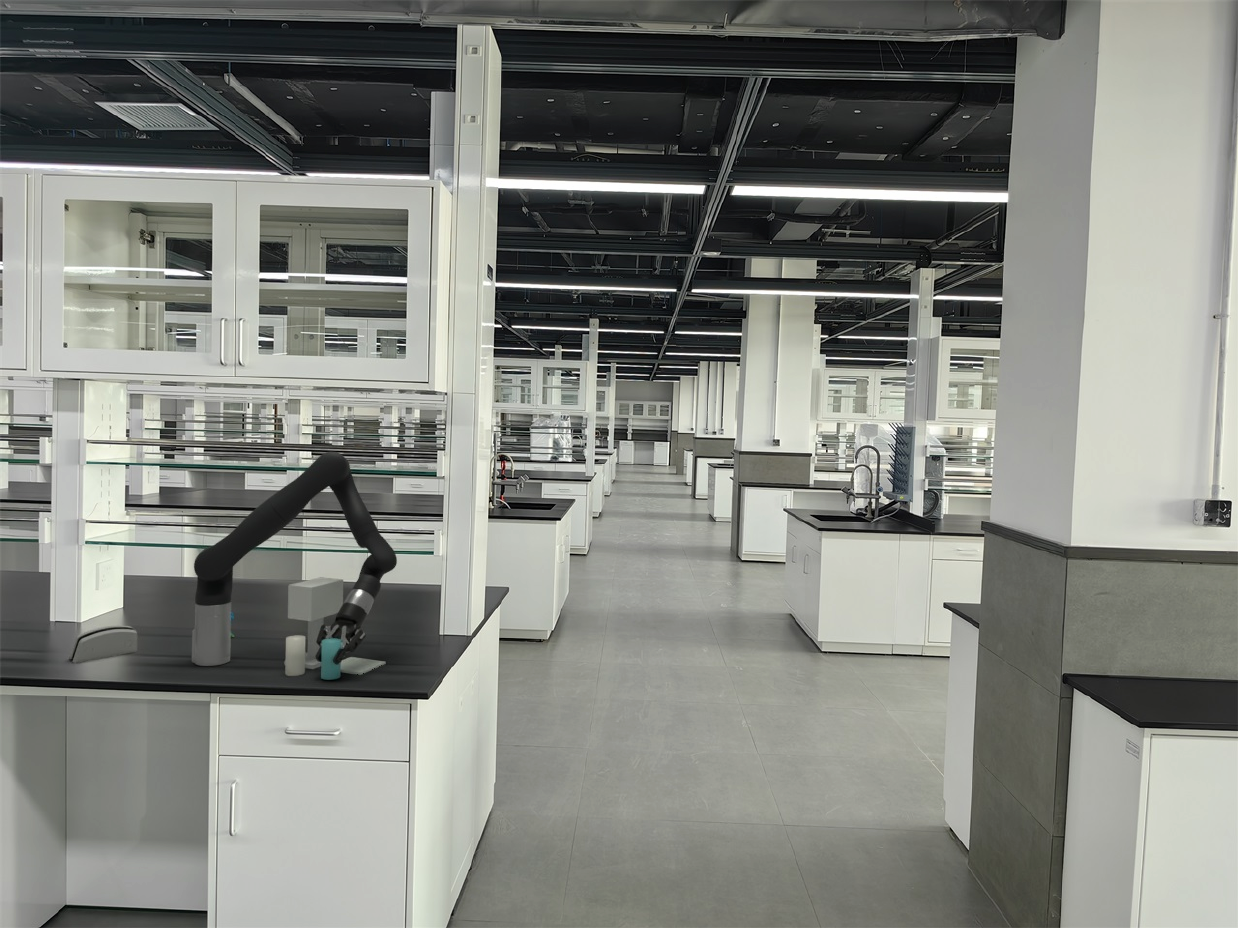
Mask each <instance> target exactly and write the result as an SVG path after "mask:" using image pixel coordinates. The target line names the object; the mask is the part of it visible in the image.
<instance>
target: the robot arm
mask: <svg viewBox="0 0 1238 928" xmlns="http://www.w3.org/2000/svg"><path fill="white" fill-rule="evenodd" d="M328 487H329V488H330V490H331V491H332V492H333V494H334V495H335V497H336V499H337V501H338V503H339V504H340V507H341V509H342V512H343V516H344V518H345V520H346V524H347V525H348V527H349V530H350V532H351V534H352V535H353V538H354V540H355V542H356V543H357V545H358V546H359V548H361V549H367V551H368V552H369V553H370V555H368V557H366V559H365V560H364V562H363V564H362V566H361V569H360V572H359V574H358V578H357V580H356V582H355V583H354V585H353V586H352V588H351V590H350V592H349V593H348V594H347V596H346V597H345V600H343V605H342V606H341V608H340V610H339V612H338V613H336V614H335V620H334V622H333V623H331V625H325V624H323V625H322V626H321V628H320V631H319V634H318V637H317V641H316V643H317V644H318V645H319V646H320V648H319V650H318V652H317V654H316V656H315V657H316V660H317V661H318V662H321V656H322V640H324V639H329V638H337V639H341V646H340V648H341V649H339V650H338V651H337V653H336V655H335V657H334V659H333V662H334V663H335V664H336V665H338V664H339V663H340V662H341V661H342V660H344V658H345V657H346V654H348V653H349V652H350V653H354V652H355V651H356V649H357V648H359V646H360V645H361V643H362V642H363V641H364V639H365V638H366V636H367V634H366V633H365V632H364V630H363V629H361V628H362V626H363V625H364V622H365V620H366V618H367V617H368V615H369V613H370V611H371V609H372V607H373V604H374V601H375V600H376V598H377V596H378V595H379V592H380V589H381V586H382V584H381V579H382V578H383V576H384V575H385V574H387V573H389V572H391V571H393V570H394V569H395V568H396V566H397V564H398V559H397V558H398V557H397V555H396V552H395V550H394V549H393V547H392V546H391V545H390V544H389V543H388V541H387V540H386V539H385V538H384V537H383V536H382V534H381V533H380V531H379V529H378V527H377V525H376V524H375V521H374V519H373V517H372V515H371V513H370V512H369V510H368V508H367V507H366V505H365V503H364V501H363V499H362V497H361V496H360V493H359V491H358V489H357V485H356V483H355V479H354V478H353V474H352V470H351V464H350V462H349V461H348V459H347V458H346V457H345V456H344V455H342V454H341V453H339V452H337V451H327V452H325V453H322V454H321V455H320V456H318V457H317V458H316V459H315V461H313V463H311V465H309V466H308V467H307V469H305V470H304V471H303V472H302V473H301V474H300V475H299V476H297V477H296V478H295V479H294V480H293V481H291V482H289V483H288V484H286V485H285V486H284V487H282V488H280V490H278V491H277V492H275V493H274V494H273V495H271V496H270V497H268V498H267V499H266V500H265V501H263V502H262V503H261V504H260V505H258V506H257V507H256V508H255V509H254V510H253V511H251V513H249V514H248V515H247V516H246V517H245V518H244V519H243V520H242V521H241V522H240V523H239V524H238V525H237V526H236V527H235V528H234V530H232V531H231V532H230V533H228V534H227V535H226V536H225V537H224V538H222V539H221V540H219V541H218V542H216V543H215V544H213V545H210V546H208V547H205V548H204V549H203V550H202V551H200V552H199V553H198V555H197V556H196V557H195V559H194V563H193V568H194V573H195V576H196V577H197V582H196V583H197V584H196V589H195V590H196V591H195V595H194V599H195V603H194V609H195V610H194V628H193V629H192V631H191V663H194V664H195V665H197V666H200V667H213V666H219V665H225V664H226V663H230V662H231V645H232V644H231V640H232V639H231V638H232V637H231V632H232V624H231V622H232V620H231V612H232V593H233V581H234V580H233V578H234V577H233V574H234V573H233V572H234V567H235V565H237V563H238V562H240V561H241V560H242V559H243V558H244V557H245V556H246V555H247V554H248V553H250V552H251V551H252V550H254V549H255V548H257V547H259V546H260V545H262V544H264V543H265V542H266V541H268V540H269V539H271V538H273V536H276V534H278V533H279V532H280V531H281V530H283V529H285V527H287V526H288V525H289V524H290V523H292V521H294V519H296V518H297V517H298V516H299V515H300V514H301V512H302V511H303V510H304V509H305V508H306V506H307V505H308V504H309V503H310V502H311V500H312V499H314V498H315V497H316V496H317V495H318V494H320V493H321V492H323V491H324V490H325V489H327V488H328ZM344 656H345V657H344Z"/></svg>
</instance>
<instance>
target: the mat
mask: <svg viewBox="0 0 1238 928" xmlns="http://www.w3.org/2000/svg"><path fill="white" fill-rule="evenodd" d="M386 662H387V661H383V660H376V659H369V658H361V657H354V656H350V657H347V658H345V659H344V658H343V659H342V661H341V673H343V674H344V673H345V674H351V675H357V674H358V675H357V676H361V675H364V674H366V673H368V672H370V671H373V670H375V669H377V668H379V666H380V667H382V666H384V665H386V664H387V663H386ZM381 665H382V666H381ZM374 668H375V669H374ZM372 669H373V670H372ZM363 673H364V674H363Z"/></svg>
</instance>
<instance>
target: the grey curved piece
mask: <svg viewBox="0 0 1238 928" xmlns="http://www.w3.org/2000/svg"><path fill="white" fill-rule="evenodd" d="M137 652H138V632H137V630H136V629H135V628H134V627H132V626H130V625H118V624H117V625H108V626H107V625H106V626H101V627H96V628H94V629H90V630H87V631H84V632H83V633H80V634H78V635H77V636H76V638H75V641H74V644H73V647H72V650H71V652H70V653H69V655H68V661H69V660H71V661H72V663H74V664H79V663H82V662H88V661H94V660H98V659H105V658H109V657H114V656H121V655H126V654H131V653H132V654H133V653H137Z"/></svg>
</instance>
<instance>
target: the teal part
mask: <svg viewBox="0 0 1238 928" xmlns="http://www.w3.org/2000/svg"><path fill="white" fill-rule="evenodd" d="M340 646H341V639H337V638H332V637H331V638H329V639H324V640H322V656H321V666H320V679H323V680H328V681H330V680H337V679H339V678H340V677H341V673H342V672H341V662H340V663H339V664H338V665H336V664H335V663H334V662H333V659H334V657H335V655H336V653H337V651H338V650H339V649H341V648H340Z"/></svg>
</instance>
